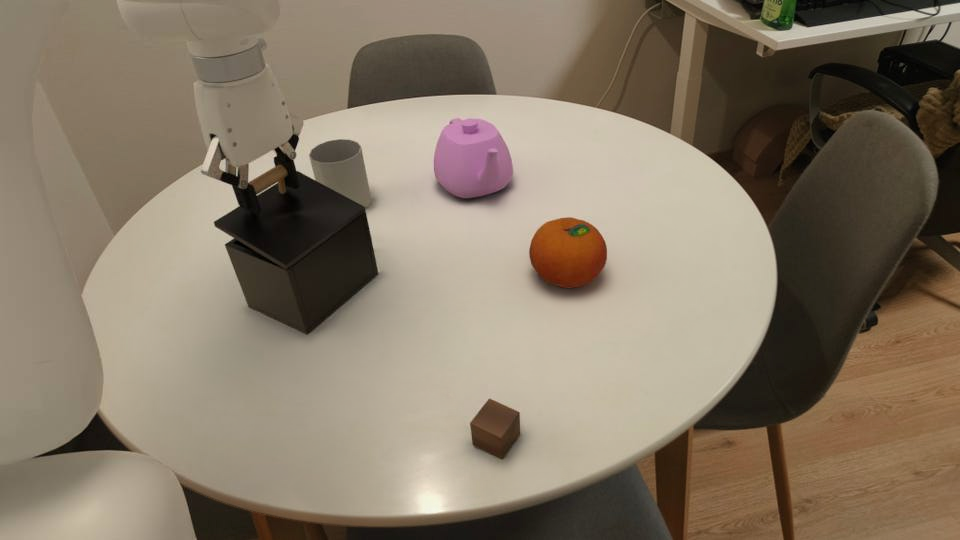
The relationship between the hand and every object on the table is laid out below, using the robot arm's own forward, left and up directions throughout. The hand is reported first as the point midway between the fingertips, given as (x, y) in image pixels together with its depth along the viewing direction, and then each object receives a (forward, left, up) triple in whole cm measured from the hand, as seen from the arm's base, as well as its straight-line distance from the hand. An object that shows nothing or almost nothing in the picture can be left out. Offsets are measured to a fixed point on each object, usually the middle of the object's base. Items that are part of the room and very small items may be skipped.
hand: (271, 196), depth 82 cm
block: (-9, -40, -15) cm, 43 cm away
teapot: (+35, -9, -15) cm, 39 cm away
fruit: (+20, -34, -15) cm, 42 cm away
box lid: (0, -3, -2) cm, 4 cm away
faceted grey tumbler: (+20, +8, -15) cm, 26 cm away
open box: (0, -4, -15) cm, 15 cm away
